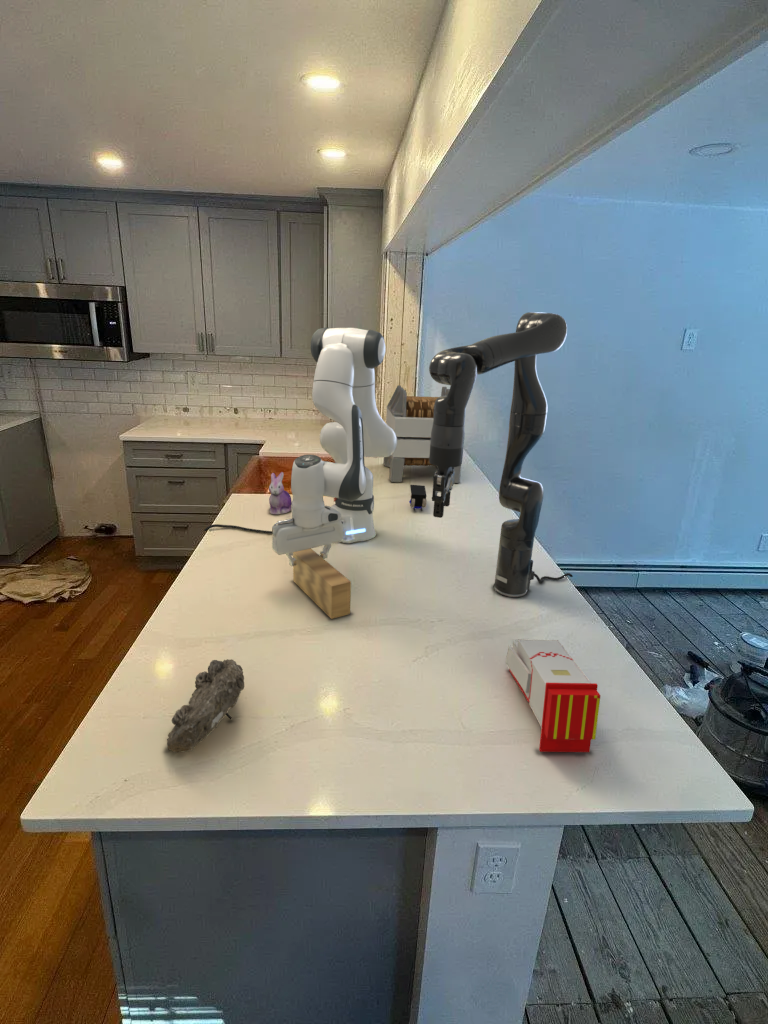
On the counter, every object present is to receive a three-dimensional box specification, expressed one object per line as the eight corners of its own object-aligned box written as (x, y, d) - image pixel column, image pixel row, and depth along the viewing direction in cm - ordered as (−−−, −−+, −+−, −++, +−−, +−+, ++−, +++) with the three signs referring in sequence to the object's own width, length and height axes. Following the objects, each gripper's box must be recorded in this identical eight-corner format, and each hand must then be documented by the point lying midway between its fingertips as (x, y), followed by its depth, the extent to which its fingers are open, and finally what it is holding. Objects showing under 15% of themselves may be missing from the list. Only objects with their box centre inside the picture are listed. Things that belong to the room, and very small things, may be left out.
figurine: (272, 516, 210) (271, 477, 205) (264, 508, 219) (263, 470, 213) (296, 513, 214) (296, 475, 209) (287, 505, 223) (287, 468, 218)
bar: (293, 581, 162) (292, 551, 159) (310, 577, 165) (310, 547, 162) (331, 619, 144) (331, 586, 141) (350, 613, 147) (351, 581, 143)
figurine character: (427, 516, 221) (424, 500, 235) (428, 499, 218) (425, 483, 231) (409, 516, 221) (407, 499, 235) (411, 498, 218) (409, 482, 231)
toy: (554, 622, 128) (610, 691, 98) (548, 677, 130) (601, 759, 101) (501, 621, 127) (541, 690, 98) (496, 676, 130) (534, 758, 101)
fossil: (192, 660, 117) (244, 628, 112) (224, 691, 120) (276, 661, 115) (142, 746, 98) (202, 712, 93) (182, 779, 101) (242, 748, 96)
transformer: (382, 463, 289) (386, 382, 275) (445, 464, 293) (451, 384, 279) (390, 482, 257) (394, 392, 243) (460, 483, 261) (468, 394, 247)
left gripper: (276, 526, 146) (278, 574, 150) (346, 513, 156) (345, 558, 161) (267, 518, 150) (269, 565, 155) (335, 506, 161) (335, 550, 166)
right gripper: (458, 452, 120) (452, 523, 126) (468, 439, 133) (461, 504, 139) (424, 448, 122) (419, 518, 128) (436, 435, 135) (431, 500, 141)
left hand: (308, 561), depth 158 cm, fingers open, 8 cm apart
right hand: (441, 511), depth 133 cm, fingers open, 8 cm apart
